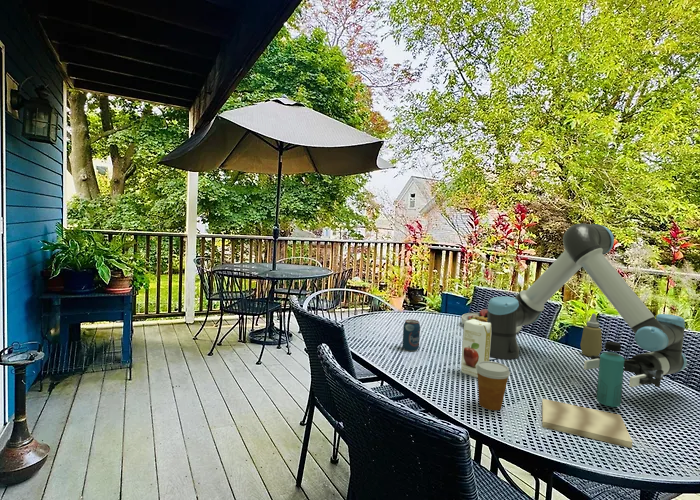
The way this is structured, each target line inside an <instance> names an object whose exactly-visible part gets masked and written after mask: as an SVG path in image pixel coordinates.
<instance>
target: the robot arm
mask: <svg viewBox="0 0 700 500" xmlns="http://www.w3.org/2000/svg"><path fill="white" fill-rule="evenodd" d="M562 243H563V247H564V250H563V252H562V253H561V254H560V255H559V256H558V257H557V258H556V259H555V261H553V263H552V264H551V265H549V266H548V268H547V269H546V270H545V271H544V272H543V273H542V274H541V275H539V277H538V278H537V279H536V280H535V281H534V282H533V283H532V285H531V286H530V287H529V288H528V289H526V290H525V289H523V290H521V291H519V293H518V294H517V295H516V296H515V297H512V296H507V295H506V296H495V297H492V298H490V299H489V301H488V305H487V310H488V317H487V322H488V323H491V344H490V357H492V358H495V359H501V360H502V359H503V360H513V359H514V360H516V359H518V358H519V357H520V350H519V344H518V340H517V333H516V328H517V327H518V326H522V327H523V326H528V325H531V324H534V323H536V322H537V321H539V319H540V318H541V316H542V312H543V311H544V310H545V304H546V303H547V302H548V301H549V300H550V299H551V298H552V297H553V296H554V295H555V294H556V293H557V292H558V291H560V289H561V288H562V287H563V286H564V285H565V284H566V283H567V282H568V281H569V280H570V279H571V278H572V277H573V276H574V275H575V274H577V273H578V271H579V270H580V269H582V268H583V270H584V271H585V272H586V273H587V275H588V276H589V277H590V279H591V280H592V281H593V283H594V284H595V285H596V286H597V287H598V288H599V290H600V291H601V293H602V294H603V295H604V296H605V298H606V299H607V300H608V301H609V302H610V304H611V305H612V307H613V308H614V309H615V310H616V312H617V313H619V315H620V317H621V318H622V319H623V320H624V322H625V323H626V324H627V325H628V327H629V328H630V329H631V330H632V332H633V333H634V340H635V343H636V345H637V346H638V347H639V348H640V349H642V350H644V351H646V352H644V353H639V354H635V355H633V356H632V357H631V358H630V359H629V358H628V359H625V358H624V360H625V361H624V369H623V372H627V373H631V374H634V375H632V376H629V384H628V386H629V387H630V388H635V387H638V386H644V385H645V386H646V385H648V386H652V385H654V387H656V388H661V381H662V380H663V379H664V376H666V375H673V374H678V373H679V372H681V371H682V372H683V371H684V370H685V369H686V368H687V365H688V360H687V357H686V356H685V354H684V353H683V345H684V344H683V343H684V335H685V330H686V326H685V325H686V324H685V323H686V321H685V319H684V318H683V317H681V316H679V315H674V314H668V313H658V314H657V315H656V316H655V315H654V314H653V313H652V311H651V310H650V309H649V308H648V307H647V306H646V304H645V303H644V302H643V301H642V299H641V298H640V297H639V296H638V295H637V293H636V292H635V291H634V290H633V289H632V288H631V287H630V286H629V284H628V283H627V282H626V280H625V279H624V278H623V276H621V274H620V273H619V271H617V269H616V268H615V267H614V266H613V264H612V263H610V261H609V260H608V259H607V258H606V256H605V255H606V254H607V253H609V252H611V250H612V249H613V247H614V244H615V237H614V234H613V232H612V231H611V230H610V229H609V228H608V227H606V226H605V225H601V224H598V223H597V224H596V223H593V224H591V223H590V224H588V223H583V222H582V223H576V224H574V225H571V226H569V227H568V228H567V229H566V230H565V232H564V234H563V237H562ZM599 363H600V355H599V356H591V357H590V359H588V360H584V364H583V370H585V371H587V370H592V369H599Z"/></svg>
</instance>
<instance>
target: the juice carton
mask: <svg viewBox="0 0 700 500" xmlns="http://www.w3.org/2000/svg"><path fill="white" fill-rule="evenodd" d="M490 344H491V323H488V322H481V321H479V320H475V319H471V320H468V321H465V324H463V331H462V345H461V346H462V347H461V359H460V360H461V361H460V367H461V368H460V369H461V373H462V374H465V375H467V376H471V377H473V378H477V379H478V375H477V370H476V367H477V365H478V363H479V362H482V361H490V357H491V356H490Z"/></svg>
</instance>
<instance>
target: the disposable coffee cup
mask: <svg viewBox="0 0 700 500" xmlns="http://www.w3.org/2000/svg"><path fill="white" fill-rule="evenodd" d="M476 370H477V375H478V378H477V387H478V388H477V389H478V391H477V392H478V404H479V406H480V407H482V408H483V409H486V410H489V411H500V410H501V409H502V407H503V401H504V397H505V393H506V389H507V384H508V380H509V377H510V375H511V372H510V369H509V367H508V365H505V364H503V363H500V362H496V361H492V360H491V361H490V360H489V361H482V362H479V363H478V365H477V367H476Z"/></svg>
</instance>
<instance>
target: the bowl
mask: <svg viewBox="0 0 700 500" xmlns="http://www.w3.org/2000/svg"><path fill="white" fill-rule="evenodd" d="M487 317H488V308H483V309H480V310H479V312H467V313H464V314H462V315H461V322H462V324H463V325H464V324H465V321H468V320H471V319H475V320H479V321H481V322H487ZM522 328H523V325H522V326H518V327H517V328H516V334H517V333H519V332H520V331H521V330H522Z"/></svg>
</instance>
